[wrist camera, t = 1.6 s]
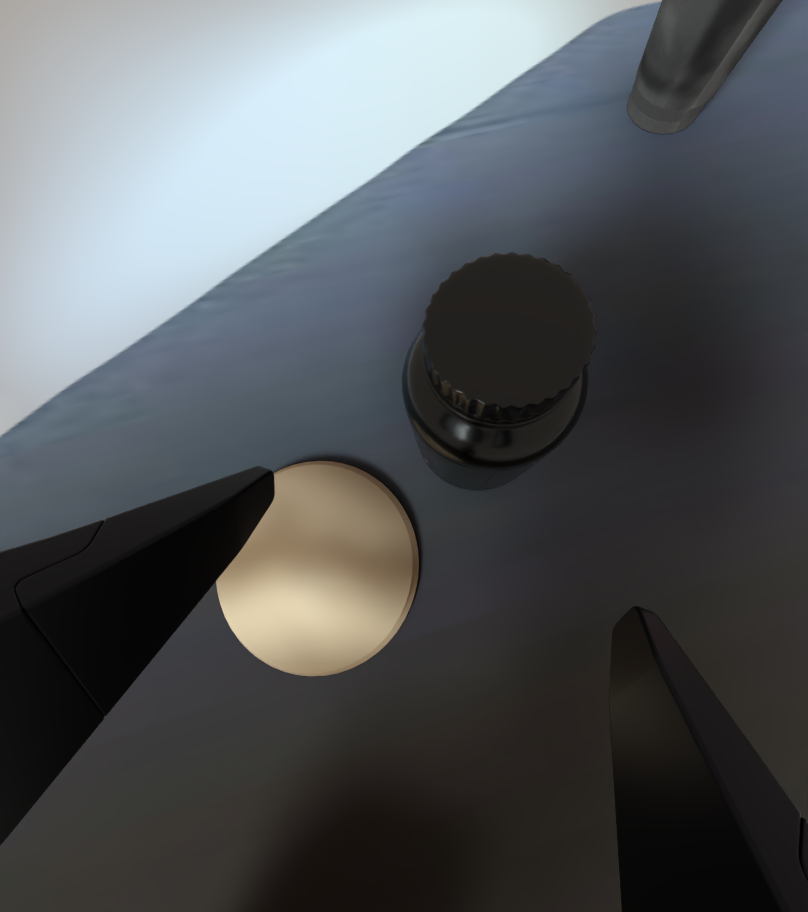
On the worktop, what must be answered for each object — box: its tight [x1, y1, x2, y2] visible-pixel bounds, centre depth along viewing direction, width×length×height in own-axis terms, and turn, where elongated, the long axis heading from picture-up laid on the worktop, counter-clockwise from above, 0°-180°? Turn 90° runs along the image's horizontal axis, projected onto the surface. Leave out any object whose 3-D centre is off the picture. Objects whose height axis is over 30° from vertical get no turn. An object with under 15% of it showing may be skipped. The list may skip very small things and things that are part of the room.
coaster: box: [216, 461, 419, 676], centre depth 21 cm, size 12×12×1 cm
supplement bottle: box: [402, 252, 597, 490], centre depth 16 cm, size 7×7×12 cm
